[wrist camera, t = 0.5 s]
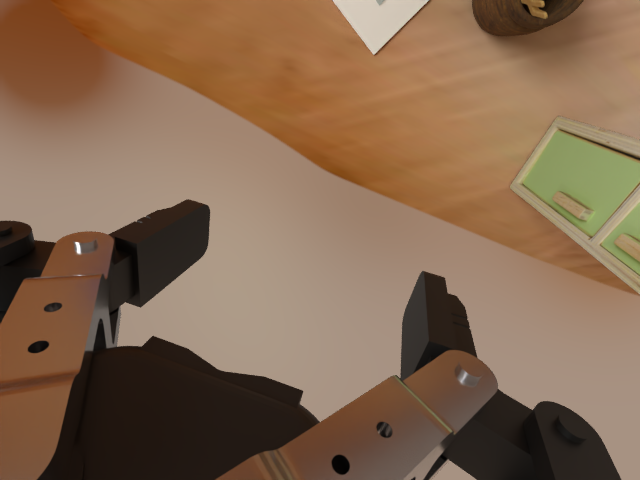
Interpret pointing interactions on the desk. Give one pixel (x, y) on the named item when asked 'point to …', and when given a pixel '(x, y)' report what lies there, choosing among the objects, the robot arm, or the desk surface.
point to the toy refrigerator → (589, 191)
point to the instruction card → (378, 18)
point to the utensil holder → (520, 15)
